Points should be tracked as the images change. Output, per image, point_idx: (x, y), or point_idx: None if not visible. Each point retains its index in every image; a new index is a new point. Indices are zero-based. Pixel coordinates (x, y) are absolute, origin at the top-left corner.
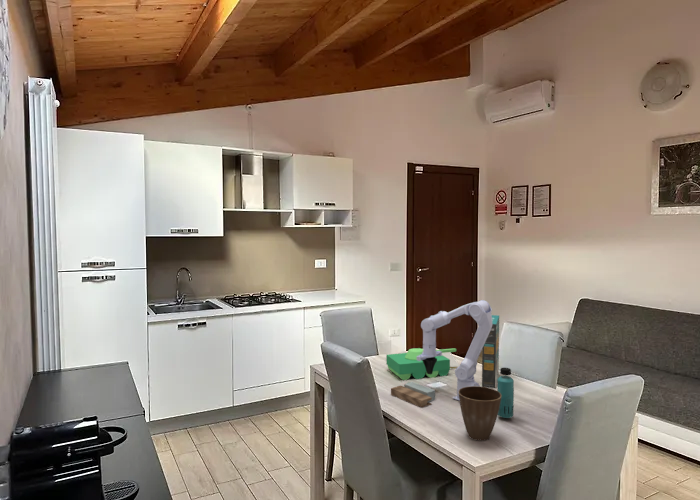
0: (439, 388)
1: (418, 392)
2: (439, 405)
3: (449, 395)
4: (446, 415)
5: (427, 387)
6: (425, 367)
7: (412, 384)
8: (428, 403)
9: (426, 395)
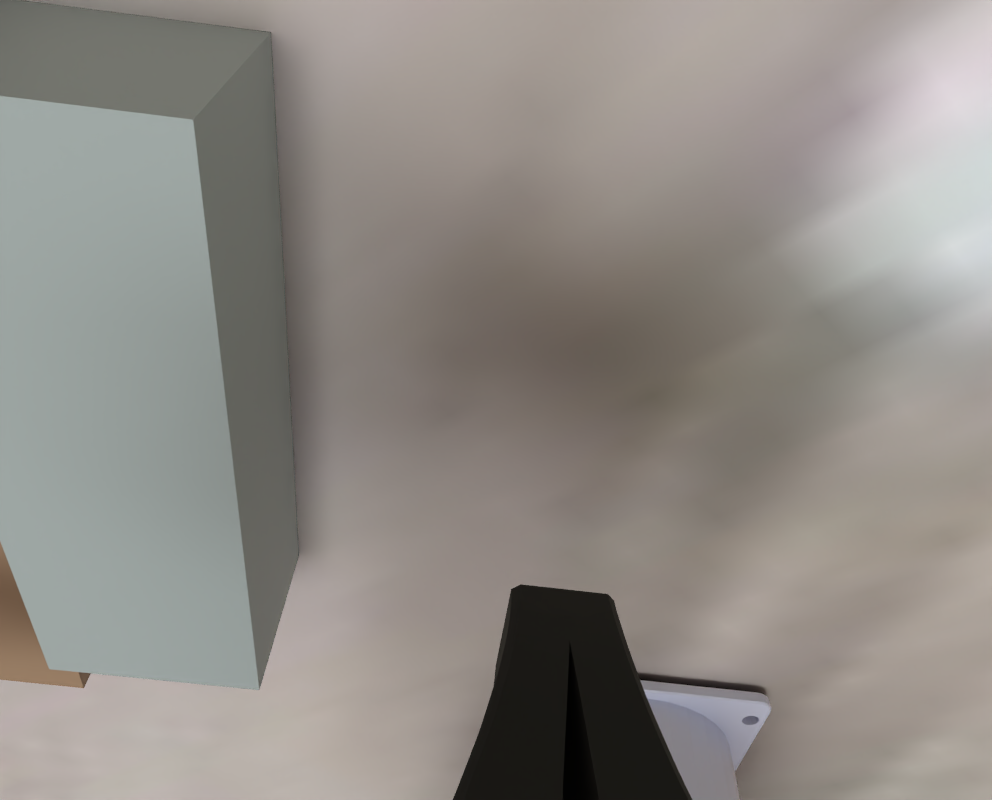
0: (838, 360)
1: None
2: None
3: None
4: (71, 780)
5: (244, 568)
6: (465, 768)
7: (56, 263)
8: None
9: None
